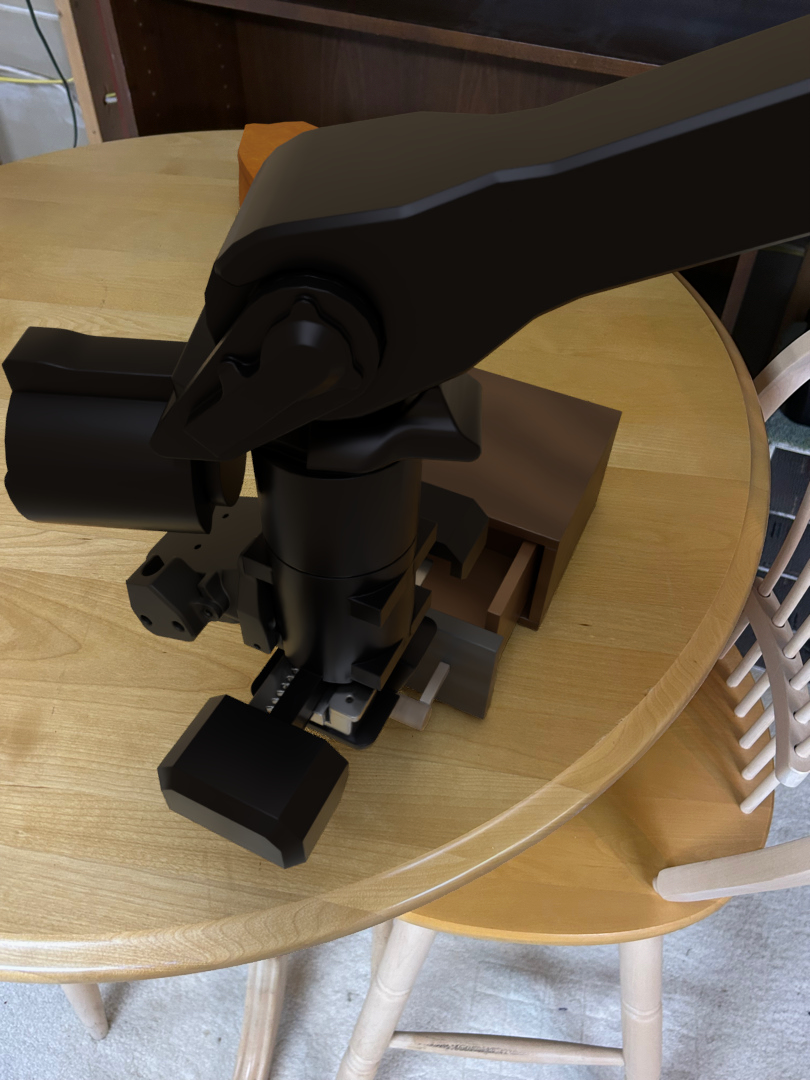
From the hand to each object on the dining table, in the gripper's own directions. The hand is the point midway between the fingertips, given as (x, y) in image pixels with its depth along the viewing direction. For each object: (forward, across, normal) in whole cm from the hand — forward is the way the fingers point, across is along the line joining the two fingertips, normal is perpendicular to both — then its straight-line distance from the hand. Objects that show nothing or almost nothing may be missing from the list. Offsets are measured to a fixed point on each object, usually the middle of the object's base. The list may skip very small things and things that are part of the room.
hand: (350, 735), depth 41 cm
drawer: (+4, -11, 0) cm, 11 cm away
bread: (+6, -58, -37) cm, 69 cm away
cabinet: (+5, -21, 0) cm, 22 cm away
